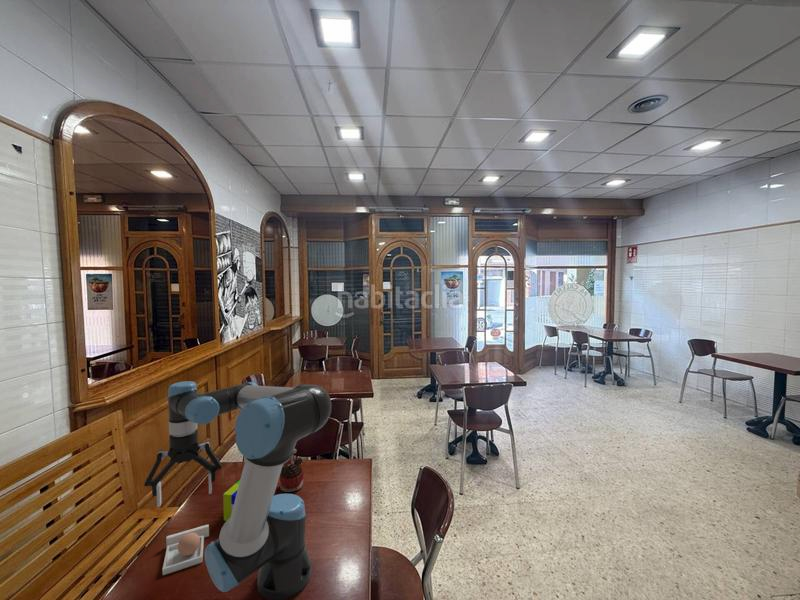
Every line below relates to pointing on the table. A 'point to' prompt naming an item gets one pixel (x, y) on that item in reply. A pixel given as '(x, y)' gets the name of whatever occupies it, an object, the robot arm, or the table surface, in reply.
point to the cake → (291, 474)
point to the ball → (188, 544)
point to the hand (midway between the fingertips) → (185, 498)
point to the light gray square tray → (181, 558)
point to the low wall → (177, 537)
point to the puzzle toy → (229, 500)
